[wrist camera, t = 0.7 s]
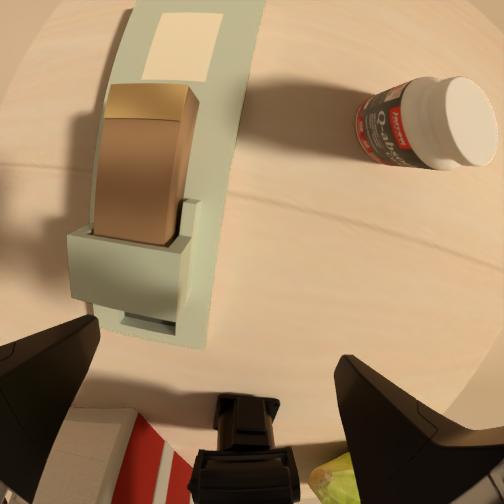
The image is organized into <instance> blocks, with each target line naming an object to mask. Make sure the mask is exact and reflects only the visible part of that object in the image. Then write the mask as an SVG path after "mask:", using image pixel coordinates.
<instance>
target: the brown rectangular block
mask: <svg viewBox="0 0 504 504" xmlns="http://www.w3.org/2000/svg"><path fill="white" fill-rule="evenodd" d="M199 104H200V102H199V100H198V99H197V97H196V96H195V94H194V93H193V91H192V90H191V88H190V87H189V85H187V84H166V83H128V84H111V86H110V90H109V94H108V99H107V103H106V108H105V113H104V118H105V121H104V127H103V133H102V139H101V146H100V153H99V160H98V169H97V179H96V191H95V208H94V236H99V237H105V238H111V239H117V240H123V241H129V242H135V243H141V244H147V245H153V246H159V247H166V248H169V247H170V245H171V244H172V243H173V242H174V241H175V240H176V238H177V237H178V236H179V231H180V222H181V214H182V206H183V198H184V191H185V183H186V177H187V170H188V164H189V157H190V151H191V146H192V140H193V134H194V129H195V124H196V119H197V114H198V109H199Z"/></svg>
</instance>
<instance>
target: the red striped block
mask: <svg viewBox="0 0 504 504" xmlns="http://www.w3.org/2000/svg"><path fill="white" fill-rule="evenodd" d="M192 471H193V468H192V467H191V466H190V465H189V464H188V463H187V462H186V461H185V460H184V459H183V458H182V457H180V456H179V455H178V454H177V453H176V452H175V451H174V449H173V448H172V447H171V446H170V444H169V443H168V442H167V441H164V440H163V439H162V438H161V437H160V435H159V434H158V433H157V432H156V431H155V430H154V429H153V428H152V427H151V426H150V425H149V423H148V422H147V421H146V420H145V419H144V418H143V417H142V415H141V414H140V413H138V411H137V410H135V409H133V408H74V407H70V408H69V410H68V413H67V415H66V417H65V419H64V421H63V423H62V426H61V428H60V430H59V433H58V435H57V437H56V440H55V442H54V444H53V447H52V449H51V452H50V454H49V457H48V460H47V463H46V465H45V468H44V471H43V473H42V476H41V479H40V482H39V485H38V488H37V491H36V494H35V497H34V501H33V503H32V504H191V497H192V494H191V493H190V492H189V491H188V490H187V485H188V482H189V480H190V478H191V475H192ZM9 504H29V503H27V502H26V501H24V500H23V499H21V498H20V497H18V496H17V495H15V494H14V493H12V496H11V498H10V501H9Z"/></svg>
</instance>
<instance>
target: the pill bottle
mask: <svg viewBox="0 0 504 504" xmlns="http://www.w3.org/2000/svg"><path fill="white" fill-rule="evenodd" d="M355 124H356V133H357V136H358V139H359V142H360V144H361V146H362V147H363V149H364V150H365V152H366V153H367V154H368V155H369V156H370V157H371V158H373V159H374V160H376V161H377V162H379V163H382V164H385V165H390V166H401V167H413V168H423V169H431V170H441V171H448V170H453V169H456V168H458V167H460V166H461V165H464V166H484V165H486V164H488V163H489V162H490V161H491V160H492V159H493V157H494V155H495V152H496V149H497V143H498V129H497V122H496V118H495V114H494V111H493V108H492V106H491V104H490V102H489V100H488V98H487V96H486V95H485V93H484V92H483V91H482V89H481V88H480V87H479V86H478V85H477V84H476V83H474V82H473V81H472V80H470V79H468V78H466V77H460V76H458V77H453V78H448V79H444V80H440V79H438V78H434V77H421V78H417V79H414V80H412V81H409V82H407V83H404V84H402V85H399V86H396V87H394V88H391V89H389V90H386V91H384V92H381V93H379V94H377V95H374V96H372V97H370V98H369V99H367V100H366V101H364V102H363V104H362V105H361V106H360V108H359V110H358V112H357V116H356V123H355Z"/></svg>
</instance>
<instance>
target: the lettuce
mask: <svg viewBox="0 0 504 504" xmlns="http://www.w3.org/2000/svg"><path fill="white" fill-rule="evenodd" d="M308 484H309V486H310V488H311V489H312V491H313V492H314V493H315V494H316V496H317V497H318V498H319V500H320V501H321V503H322V504H361V503H360V498H359V493H358V488H357V484H356V479H355V475H354V470H353V466H352V461H351V457H350V453H349V452H347V453H345V454H342V455H341V456H339V457H338V458H336V459H334V460H332V461H330V462H328V463H325V464H323V465H321V466H319V467H317V468H315V469H313V470H312V472H311V474H310V477H309V482H308Z"/></svg>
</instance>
